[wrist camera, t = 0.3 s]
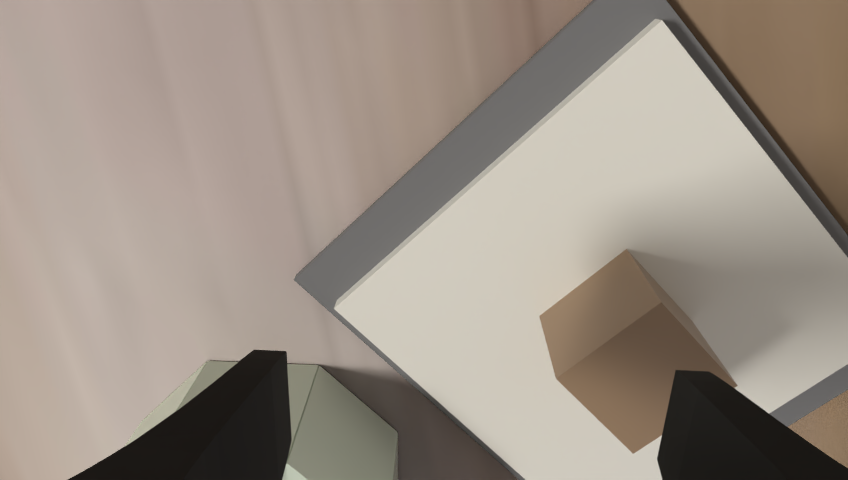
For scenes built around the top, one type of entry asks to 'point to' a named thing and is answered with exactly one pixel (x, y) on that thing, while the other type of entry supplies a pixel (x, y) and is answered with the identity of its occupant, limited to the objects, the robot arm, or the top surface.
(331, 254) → the charcoal mat
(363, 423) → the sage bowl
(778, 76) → the top surface
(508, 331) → the cover sheet
